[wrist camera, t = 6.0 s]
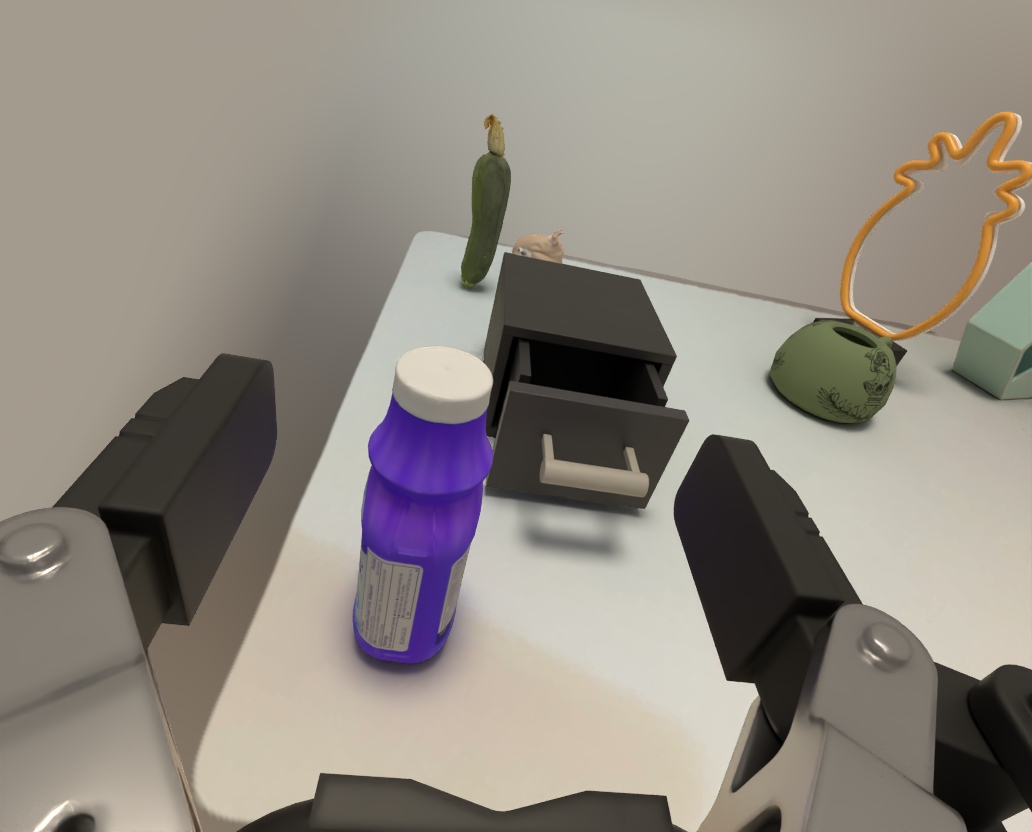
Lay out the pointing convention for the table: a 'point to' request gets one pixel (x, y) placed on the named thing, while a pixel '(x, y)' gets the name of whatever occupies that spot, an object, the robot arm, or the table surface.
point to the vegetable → (487, 206)
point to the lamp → (914, 186)
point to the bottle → (422, 503)
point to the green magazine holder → (1001, 342)
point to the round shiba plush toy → (540, 247)
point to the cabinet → (570, 317)
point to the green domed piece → (835, 371)
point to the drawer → (582, 425)
